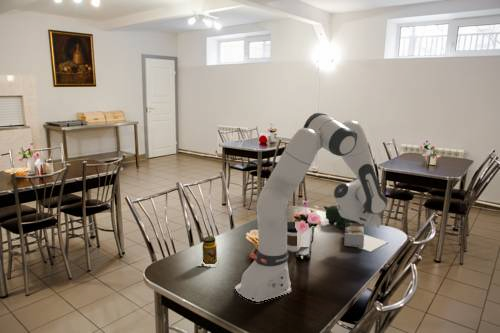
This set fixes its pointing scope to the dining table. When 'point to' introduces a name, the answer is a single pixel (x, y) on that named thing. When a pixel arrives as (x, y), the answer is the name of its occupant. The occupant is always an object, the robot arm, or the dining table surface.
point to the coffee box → (354, 235)
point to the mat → (372, 243)
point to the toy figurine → (336, 217)
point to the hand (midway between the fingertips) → (364, 224)
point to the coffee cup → (291, 237)
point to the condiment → (209, 250)
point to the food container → (313, 232)
